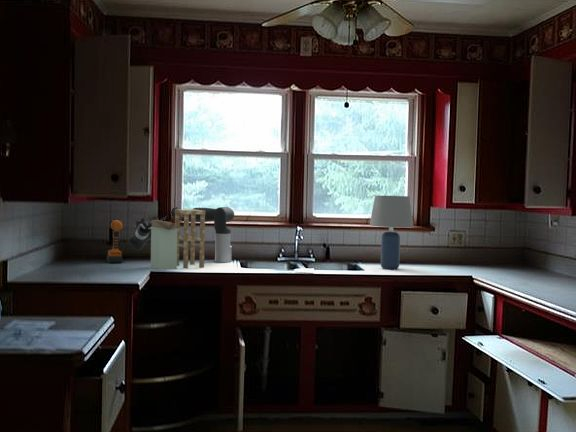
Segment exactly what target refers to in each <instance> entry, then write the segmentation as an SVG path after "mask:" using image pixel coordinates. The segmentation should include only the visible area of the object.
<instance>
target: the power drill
mask: <svg viewBox="0 0 576 432" xmlns="http://www.w3.org/2000/svg"><path fill="white" fill-rule="evenodd" d="M109 228H110V229H112V249H109V250H107V255H106V261H107V262H108V263H110V264H111V263H113V264H116V263H117V264H118V263H119V264H121V263H123V256H122V254H123V252H122V251H121V250H119V241H120V240H119V234H120V232H121V230H122V229H123V223H122V221H121V220H119V219H116V218H113V219H110V221H109Z"/></svg>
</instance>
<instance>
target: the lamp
mask: <svg viewBox="0 0 576 432" xmlns="http://www.w3.org/2000/svg"><path fill="white" fill-rule="evenodd" d="M373 199H374V200H373V204H372V205H373V206H372V208H371V209H372V211H371V215H370V222H369V226H371V227H382V228H388V231H383V233H382V235H381V241H380V242H381V246H380V267H381V268H382V269H383V270H387V269H391V271H394V269H396V270H398V269H399V268H400V257H401V256H400V255H401V235H400V233H398V232H397V231H394V228H414V222H413V220H414V219H413V214H412V213H413V211H412V204H411V198H410V196H409V195H408V196H407V195H405V196H404V195H403V196H402V195H374V198H373Z"/></svg>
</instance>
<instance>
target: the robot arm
mask: <svg viewBox="0 0 576 432" xmlns="http://www.w3.org/2000/svg"><path fill="white" fill-rule="evenodd" d="M175 209H178V208H177V207H176V208H173V209H172V211H171V212H170V214H172V216H174V217H175ZM192 209H195V210H204V211H206V214H205V223H207V222H214V223H213V225H214V230H215V235H214V236H215V240H214V241H215V242H214V243H215V245H214V246H215V247H214V261H215V262H217V263H229V262H232V256H233V255H232V251H233V250H232V248H233V247H232V245H231V234H232V231H231V228H230V227H228V226H227V223H229V222H231V221H232V220H233V219H234V217H235V212H234V210H233V209H232V208H231V207H228V206H218V207H216V208H210V207H193V208H192ZM167 216H168V215H167ZM167 216H165V217H163V218H161V219H160V220H161V221H163V220H164V221H166V219H167V218H168V217H167ZM166 217H167V218H166ZM155 220H159V218H158V217H156V218H155ZM181 220H182V221H184V217H183V218H182V219H181ZM189 223H191V214H189ZM195 223H200V214H196V218H195ZM151 227H154V226H152V220H151V221H148V222H147V221H146V222H145V217H141V219H139V220H135V222H134V229H136V231H135V233H134V234H131V235H130V236H129V237H128V238H127V242H128V244H129V245H130V246H131V248H132V249H133V250H134V251H136V252H138V251H141V250H143V248H144V246H145V245H146V244H147V243H148V242H149V240H151V239H150V238H151ZM146 242H147V243H146Z"/></svg>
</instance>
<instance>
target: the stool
mask: <svg viewBox="0 0 576 432" xmlns="http://www.w3.org/2000/svg"><path fill="white" fill-rule="evenodd" d="M180 214H184V223H183V235H180V226H181V223H180ZM189 214H191V222H189ZM196 214H200V222H199V237H196V222H195V218H196ZM205 214H206V211H204V210H195V209H193V208H192V209H191V208H190V209H187V208H185V209H183V208H180V209H175V228H177V229H178V231H177V266H180V247H181V248H183V254H182V256H183V258H182V260H183V262H182V268H183V269H184V268H186V269H188V268H189V265H192V266H193V265H196V264H195V263H196V262H195V259H196V253H195V252H196V247H198V248H199V258H198V259H199V260H198V261H199V262H198V263H199V268H200V269H203V268H205V237H206V235H205V234H206V231H205V230H206V222H205ZM189 225H190V226H189ZM189 228H190V229H189ZM189 230H190V235H189ZM180 239H183V244H182V243H180ZM196 241H199V243H196ZM189 242H190V244H189ZM189 245H190V248H189ZM189 250H190V253H189Z"/></svg>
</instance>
